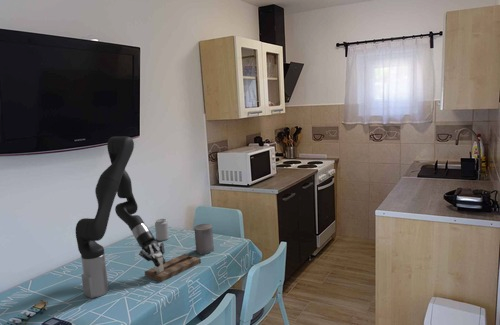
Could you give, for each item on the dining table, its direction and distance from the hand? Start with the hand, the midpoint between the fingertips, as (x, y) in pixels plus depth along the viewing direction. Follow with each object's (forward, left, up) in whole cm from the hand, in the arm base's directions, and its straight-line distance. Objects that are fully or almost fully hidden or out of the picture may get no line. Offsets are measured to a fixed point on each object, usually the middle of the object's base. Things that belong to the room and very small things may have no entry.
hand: (161, 264), depth 180 cm
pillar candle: (+34, +6, -6) cm, 35 cm away
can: (+34, +42, -6) cm, 54 cm away
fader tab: (0, +2, -5) cm, 5 cm away
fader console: (+8, +2, -6) cm, 11 cm away
